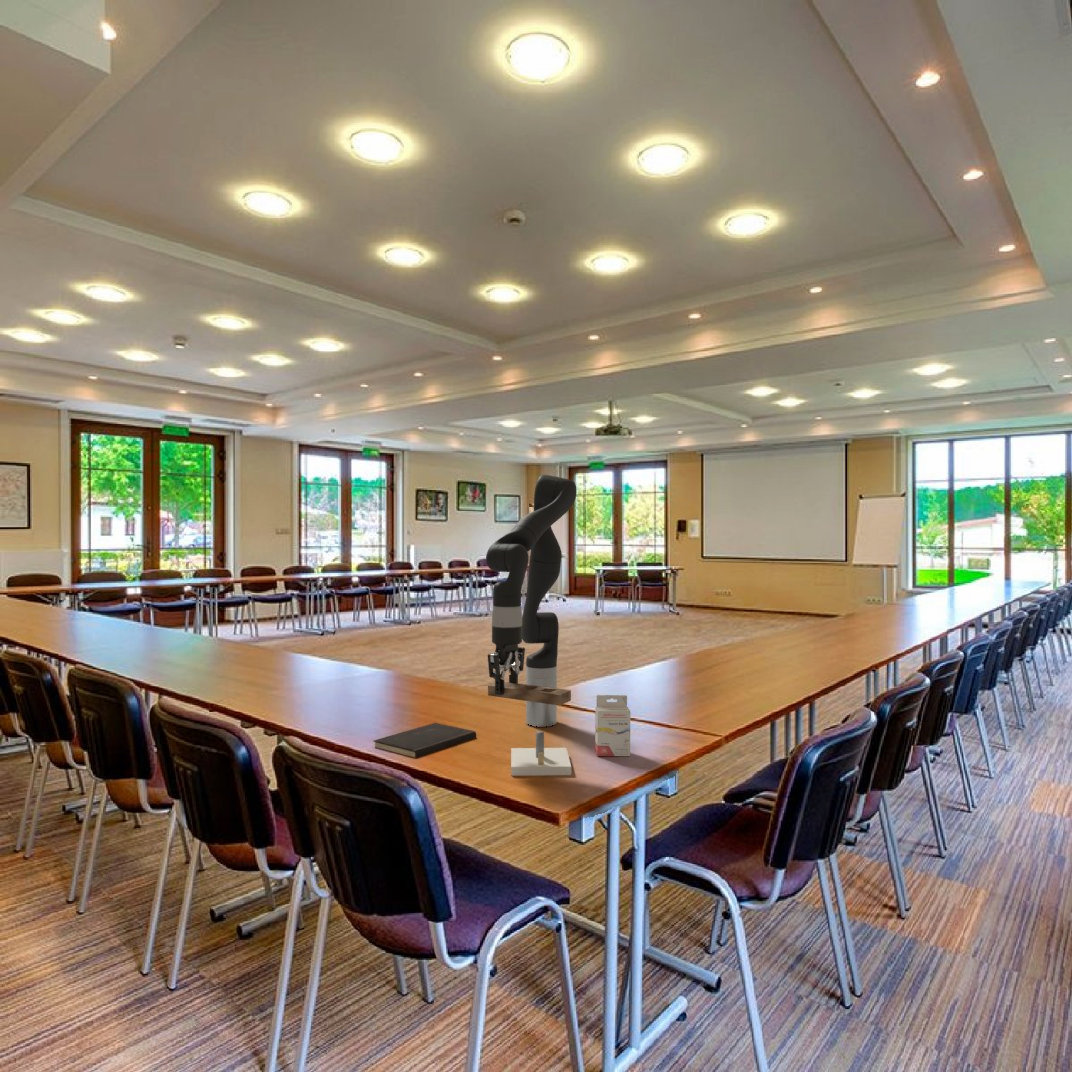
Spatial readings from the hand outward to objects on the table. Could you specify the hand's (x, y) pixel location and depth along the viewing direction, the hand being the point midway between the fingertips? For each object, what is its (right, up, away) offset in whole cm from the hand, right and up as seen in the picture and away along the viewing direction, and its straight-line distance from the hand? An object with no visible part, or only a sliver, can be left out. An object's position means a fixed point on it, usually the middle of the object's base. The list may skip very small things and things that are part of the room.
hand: (506, 691), depth 172 cm
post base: (+8, -17, -3) cm, 19 cm away
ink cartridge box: (+27, -18, +6) cm, 33 cm away
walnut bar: (+6, -1, -3) cm, 6 cm away
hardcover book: (-23, -18, +16) cm, 33 cm away
